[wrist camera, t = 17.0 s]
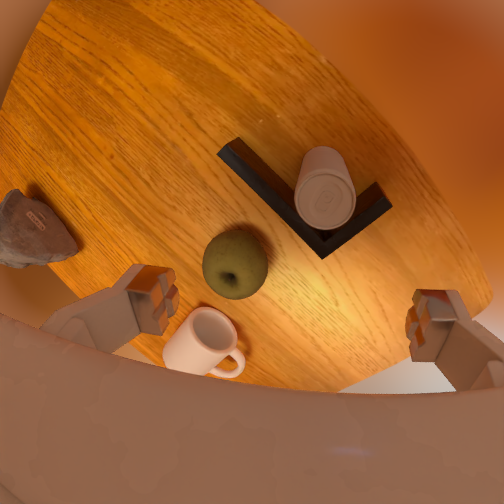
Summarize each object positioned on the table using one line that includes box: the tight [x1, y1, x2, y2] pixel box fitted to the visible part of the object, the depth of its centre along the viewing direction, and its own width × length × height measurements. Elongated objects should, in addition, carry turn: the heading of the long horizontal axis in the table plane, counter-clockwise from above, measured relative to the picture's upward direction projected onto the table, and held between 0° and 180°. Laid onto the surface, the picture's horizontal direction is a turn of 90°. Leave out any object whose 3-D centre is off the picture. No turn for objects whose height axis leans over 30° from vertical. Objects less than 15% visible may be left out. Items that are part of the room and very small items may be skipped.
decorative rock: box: [0, 189, 79, 268], centre depth 38 cm, size 16×7×15 cm, turn 40°
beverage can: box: [294, 146, 356, 230], centre depth 27 cm, size 5×5×12 cm
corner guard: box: [217, 137, 393, 260], centre depth 31 cm, size 10×16×5 cm, turn 46°
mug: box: [163, 307, 246, 378], centre depth 45 cm, size 12×10×8 cm
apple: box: [202, 230, 268, 300], centre depth 37 cm, size 8×8×7 cm
